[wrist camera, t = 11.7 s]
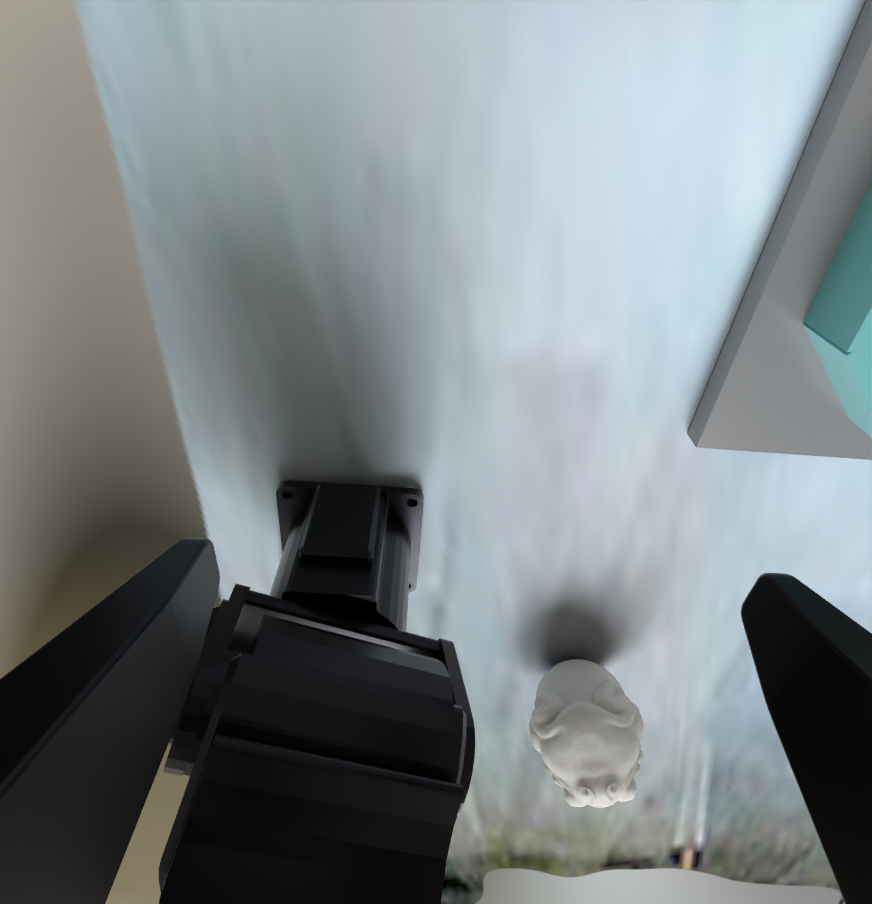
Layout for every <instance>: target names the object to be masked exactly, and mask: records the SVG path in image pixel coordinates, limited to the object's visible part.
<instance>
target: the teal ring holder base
mask: <svg viewBox="0 0 872 904" xmlns="http://www.w3.org/2000/svg"><path fill="white" fill-rule="evenodd" d="M687 434H688V436H689V437H690V439H691V440H692V442H693V443H694V445H695V446H696V447H698V448H712V449H726V450H740V451H754V452H769V453H783V454H797V455H811V456H826V457H840V458H854V459H868V460H872V0H866V2H865V4H864V7H863V9H862V11H861V14H860V16H859V19H858V21H857V23H856V26H855V28H854V31H853V33H852V36H851V38H850V40H849V43H848V45H847V48H846V50H845V53H844V55H843V57H842V60H841V62H840V65H839V67H838V70H837V72H836V74H835V77H834V79H833V82H832V84H831V86H830V89H829V91H828V94H827V96H826V99H825V101H824V103H823V106H822V108H821V111H820V113H819V116H818V118H817V120H816V123H815V125H814V128H813V130H812V133H811V135H810V137H809V140H808V142H807V145H806V147H805V149H804V152H803V154H802V157H801V159H800V162H799V164H798V166H797V169H796V171H795V174H794V176H793V179H792V181H791V183H790V186H789V188H788V191H787V193H786V195H785V198H784V200H783V203H782V205H781V208H780V210H779V212H778V215H777V217H776V220H775V222H774V225H773V227H772V229H771V232H770V234H769V237H768V239H767V242H766V244H765V246H764V249H763V251H762V254H761V256H760V258H759V261H758V263H757V266H756V268H755V271H754V273H753V275H752V278H751V280H750V283H749V285H748V288H747V290H746V292H745V295H744V297H743V300H742V302H741V305H740V307H739V309H738V312H737V314H736V317H735V319H734V321H733V324H732V326H731V329H730V331H729V334H728V336H727V338H726V341H725V343H724V346H723V348H722V351H721V353H720V355H719V358H718V360H717V363H716V365H715V368H714V370H713V372H712V375H711V377H710V380H709V382H708V384H707V387H706V389H705V392H704V394H703V397H702V399H701V401H700V404H699V406H698V409H697V411H696V414H695V416H694V418H693V421H692V423H691V426H690V428H689V431H688V433H687Z"/></svg>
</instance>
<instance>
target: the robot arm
mask: <svg viewBox="0 0 872 904" xmlns="http://www.w3.org/2000/svg"><path fill="white" fill-rule="evenodd" d="M286 490H288V491H291V492H292V493H291V494H289V493H287V492H285V491H286ZM276 497H277V506H278V515H279V523H280V532H281V541H282V549H283V555H282V558H281V561H280V564H279V567H278V570H277V574H276V577H275V580H274V583H273V586H272V589H271V592H270V595H266V594H263V593H259V592H255V591H251V590H250V587H247V586H243V585H239V584H235V587H234V589H233V591H232V594H231V596H230V599H229V601H228V600H224V599H223V601H222V603H221V605H220V607H216V608H213V606H214V602H215V599H216V595H217V592H218V587H219V580H220V576H219V570H218V565H217V561H216V556H215V551H214V547H213V544H212V542H211V541H210V540H209V539H204V538H183V539H181V540H180V541H178V542H177V543H176V544H174V545H173V546H172V547H170V548H169V549H168V550H167V551H165V552H164V553H163V554H161V555H160V556H159V557H157V558H156V559H155V560H154V561H152V562H151V563H150V564H148V565H147V566H146V567H144V568H143V569H142V570H141V571H139V572H138V573H137V574H135V575H134V576H133V577H132V578H130V579H129V580H128V581H126V582H125V583H124V584H122V585H121V586H120V587H119V588H117V589H116V590H115V591H113V592H112V593H111V594H110V595H108V596H107V597H106V598H104V599H103V600H102V601H100V602H99V603H98V604H97V605H95V606H94V607H93V608H92V609H90V610H89V611H88V612H86V613H85V614H84V615H82V616H81V617H80V618H78V619H77V620H76V621H75V622H73V623H72V624H71V625H69V626H68V627H67V628H65V629H64V630H63V631H62V632H60V633H59V634H58V635H57V636H55V637H54V638H53V639H51V640H50V641H49V642H47V643H46V644H45V645H43V646H42V647H41V648H40V649H38V650H37V651H36V652H34V653H33V654H32V655H31V656H29V657H28V658H27V659H25V660H24V661H23V662H22V663H20V664H19V665H18V666H16V667H15V668H14V669H13V670H11V671H10V672H9V673H7V674H6V675H5V676H3V677H2V678H1V679H0V904H105V902H106V900H107V897H108V895H109V892H110V890H111V887H112V885H113V882H114V879H115V877H116V875H117V872H118V869H119V867H120V864H121V862H122V859H123V857H124V854H125V852H126V849H127V846H128V844H129V842H130V839H131V837H132V834H133V832H134V829H135V827H136V824H137V821H138V819H139V816H140V814H141V811H142V809H143V806H144V804H145V801H146V799H147V796H148V793H149V791H150V789H151V786H152V784H153V781H154V778H155V776H156V773H157V771H158V768H159V766H160V763H161V761H162V758H163V756H164V753H165V750H166V748H167V746H168V745H171V748H170V751H169V754H168V757H167V761H166V764H165V767H164V772H165V773H171V774H176V775H181V776H183V775H184V776H189V777H190V778H189V781H188V784H187V787H186V790H185V793H184V796H183V798H182V801H181V805H180V807H179V810H178V813H177V816H176V819H175V821H174V824H173V827H172V830H171V833H170V836H169V839H168V842H167V844H166V847H165V850H164V853H163V856H162V859H161V862H160V867H159V884H160V890H161V896H160V900H159V904H441V897H442V889H443V881H444V874H445V867H446V860H447V855H448V850H449V846H450V841H451V836H452V832H453V827H454V824H455V821H456V818H457V815H458V814H459V812H460V810H461V808H462V806H463V804H464V801H465V798H466V795H467V792H468V789H469V785H470V781H471V776H472V771H473V764H474V755H475V728H474V722H473V717H472V713H471V709H470V705H469V701H468V698H467V694H466V690H465V686H464V682H463V678H462V675H461V671H460V667H459V663H458V659H457V655H456V652H455V648H454V644H453V642H451V641H447V640H444V639H439V640H434V639H431V638H427V637H423V636H419V635H416V634H412V633H408V632H406V624H407V607H408V592H412V591H414V590H415V588H416V582H417V571H418V559H419V548H420V536H421V525H422V513H423V499H424V498H423V494H422V493H421V491H419V490H417V489H412V488H396V487H381V486H366V485H351V484H335V483H320V482H305V481H290V480H288V481H283V482H281V483H280V484H279V486H278V489H277V492H276ZM409 499H416V501H413V502H412V501H409ZM741 617H742V621H743V625H744V628H745V632H746V635H747V639H748V642H749V646H750V649H751V653H752V656H753V660H754V663H755V667H756V670H757V674H758V677H759V681H760V684H761V688H762V691H763V695H764V698H765V701H766V704H767V707H768V710H769V712H770V715H771V718H772V721H773V723H774V726H775V728H776V731H777V733H778V736H779V738H780V741H781V743H782V746H783V748H784V751H785V753H786V756H787V758H788V761H789V763H790V766H791V768H792V771H793V773H794V776H795V778H796V781H797V783H798V786H799V788H800V791H801V793H802V796H803V798H804V801H805V804H806V806H807V809H808V811H809V814H810V816H811V819H812V821H813V824H814V826H815V829H816V831H817V834H818V836H819V839H820V841H821V844H822V846H823V849H824V851H825V854H826V856H827V859H828V861H829V864H830V866H831V869H832V871H833V874H834V876H835V879H836V881H837V884H838V886H839V889H840V891H841V894H842V896H843V899H844V901H845V904H872V634H871V633H870V632H869V631H867V630H866V629H865V628H863V627H862V626H860V625H859V624H858V623H856V622H855V621H854V620H852V619H851V618H850V617H848V616H847V615H845V614H844V613H843V612H841V611H840V610H839V609H837V608H836V607H835V606H833V605H832V604H830V603H829V602H828V601H826V600H825V599H824V598H822V597H821V596H819V595H818V594H817V593H815V592H814V591H813V590H811V589H810V588H809V587H807V586H806V585H804V584H803V583H802V582H800V581H799V580H798V579H796V578H795V577H793V576H791V575H788V574H780V573H764V574H762V575H761V576H760V577H759V578H758V579H757V581H756V583H755V584H754V586H753V588H752V589H751V591H750V592H749V594H748V596H747V597H746V599H745V601H744V602H743V604H742V608H741Z"/></svg>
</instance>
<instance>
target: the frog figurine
mask: <svg viewBox="0 0 872 904" xmlns="http://www.w3.org/2000/svg"><path fill="white" fill-rule="evenodd" d="M529 728H530V736H531V740H532V743H533V745H534V747H535V749H536V750H537V751H539V752H540V753H541V754H542V758H543V760H544V762H545V764H544V768H545V769H546V770H547V771H549V772H550V773H551V774H552V779H553V780H554V782H555V783H556V784H558V785H559V786H561V787H563V794H564V797H565V799H566V801H567V802H568V803H569V804H570V805H571V806H575V807H583V806H585V805H587V804H589V805H590V806H593V807H603V808H604V807H608V806H611V805H612V804H614V803H615V802H616V801H622V802H626V801H629V800H631V799H634V796H635V794H636V783H635V780H634V778H635V776H636V775H637V774H638V773H639V770H640V766H639V762H640V760H641V758H642V757H643V753H642V751H641V750H640V748H641V745H640V743H639V741H640V740H641V738H642V736H643V733H644V726H643V720H642V717H641V714H640V712H639V709H638V708H637V706H636V705H635V704H633V703H631V701H630V699H629V698H628V697H627V696H625V694H624V692H623V689H622V687H621V686H620V684H619V683H618V681H617V680H616V679H615V677H614V676H613V675H612V674H611V673H610V672H609V671H607V670H606V669H605V668H603V667H602V666H600V665H598V664H596V663H594V662H591V661H588V660H583V659H572V660H566V661H563V662H560V663H558V664H556V665H555V666H553V667H552V668H551V669H550V670H549V671H548V672H547V673H546V674H545V675H544V676H543V678H542V680H541V682H540V683H539V686H538V689H537V692H536V699H535V709H534V710H533V712H532V719H531V720H530V724H529Z"/></svg>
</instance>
